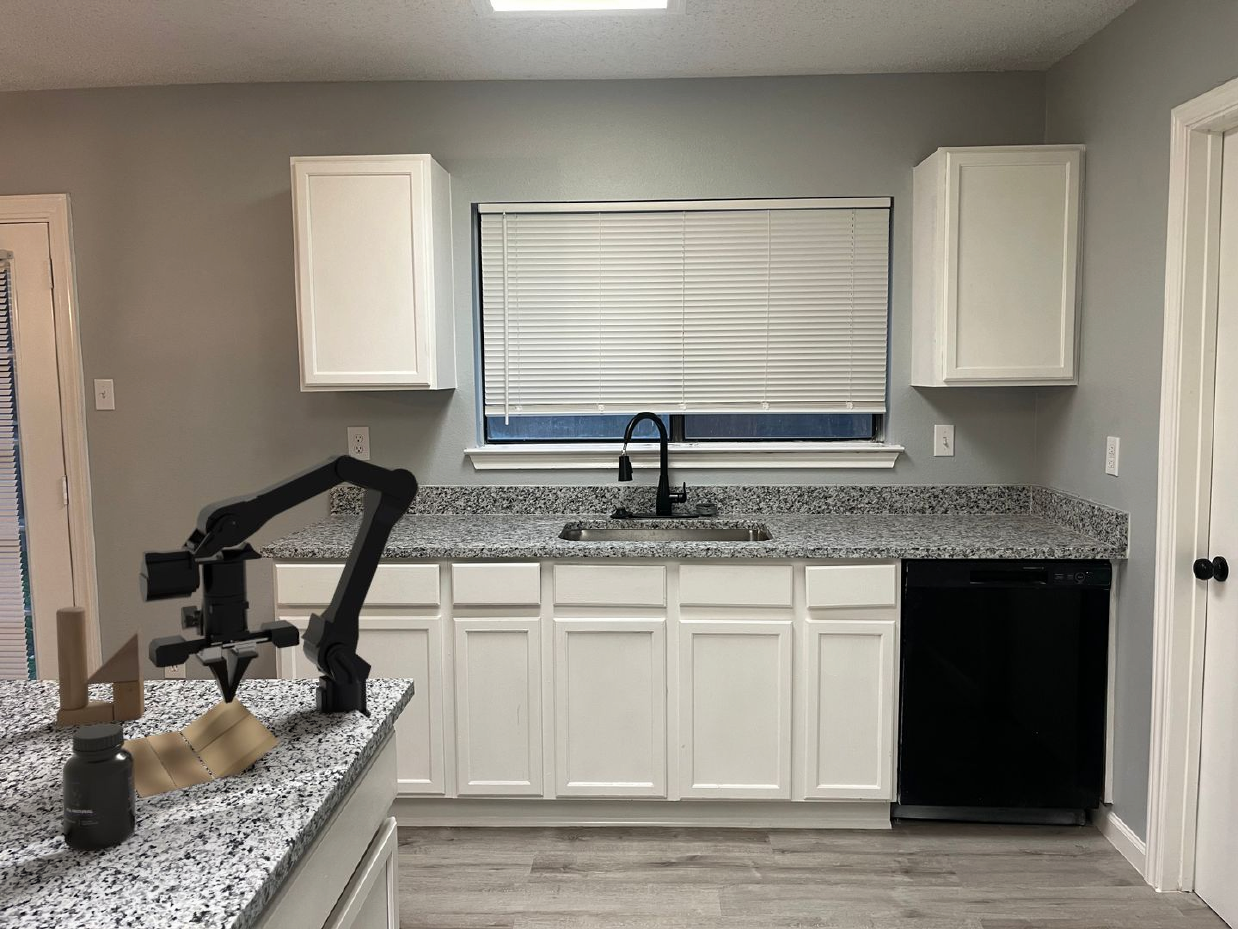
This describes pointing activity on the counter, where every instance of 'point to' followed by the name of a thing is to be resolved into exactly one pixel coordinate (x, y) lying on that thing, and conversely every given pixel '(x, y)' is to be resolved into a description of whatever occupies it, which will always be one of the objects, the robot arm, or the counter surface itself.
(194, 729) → the oak plank
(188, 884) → the counter surface
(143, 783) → the laid floor row
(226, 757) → the oak plank
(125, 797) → the supplement bottle
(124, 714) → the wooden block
